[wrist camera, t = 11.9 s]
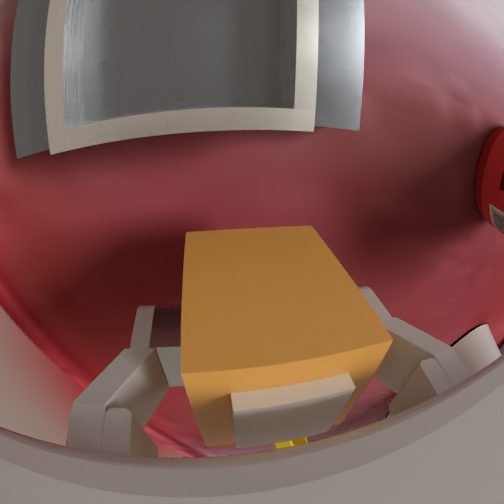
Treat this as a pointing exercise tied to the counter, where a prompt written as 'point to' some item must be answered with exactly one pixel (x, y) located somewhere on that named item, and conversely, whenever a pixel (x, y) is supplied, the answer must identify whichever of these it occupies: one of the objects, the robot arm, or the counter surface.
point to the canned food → (491, 180)
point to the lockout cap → (272, 335)
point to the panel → (181, 68)
